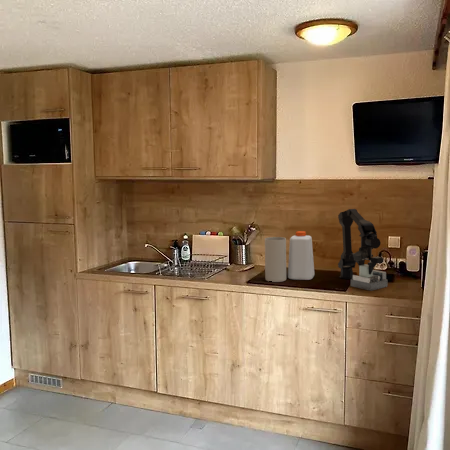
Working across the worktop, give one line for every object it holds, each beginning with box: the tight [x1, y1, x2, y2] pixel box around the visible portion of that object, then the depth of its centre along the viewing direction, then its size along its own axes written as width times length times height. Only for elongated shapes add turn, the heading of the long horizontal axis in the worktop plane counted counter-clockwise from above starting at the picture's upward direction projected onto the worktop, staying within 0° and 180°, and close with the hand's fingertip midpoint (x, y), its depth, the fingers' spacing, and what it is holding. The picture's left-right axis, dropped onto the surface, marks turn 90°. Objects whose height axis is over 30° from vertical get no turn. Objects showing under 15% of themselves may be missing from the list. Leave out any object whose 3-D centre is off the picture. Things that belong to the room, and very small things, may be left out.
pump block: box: [358, 263, 373, 278], centre depth 276 cm, size 5×5×6 cm
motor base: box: [350, 269, 388, 292], centre depth 278 cm, size 14×14×8 cm
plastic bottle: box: [287, 230, 315, 281], centre depth 303 cm, size 15×15×28 cm
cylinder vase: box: [264, 236, 287, 283], centre depth 298 cm, size 12×12×25 cm
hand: (365, 273), depth 276 cm, fingers closed on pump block, 5 cm apart
